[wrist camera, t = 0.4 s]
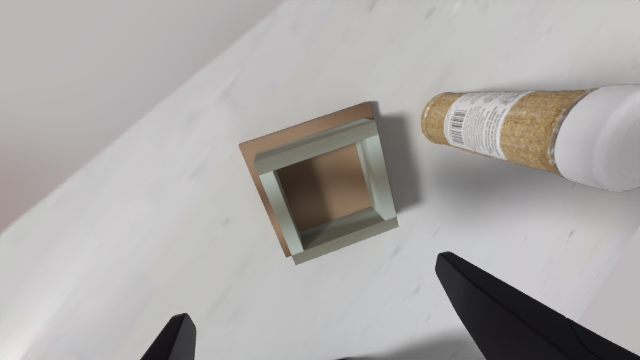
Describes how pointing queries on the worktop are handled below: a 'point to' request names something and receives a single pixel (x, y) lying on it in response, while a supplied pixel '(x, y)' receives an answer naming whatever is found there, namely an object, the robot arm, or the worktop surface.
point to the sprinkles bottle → (547, 131)
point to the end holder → (323, 182)
